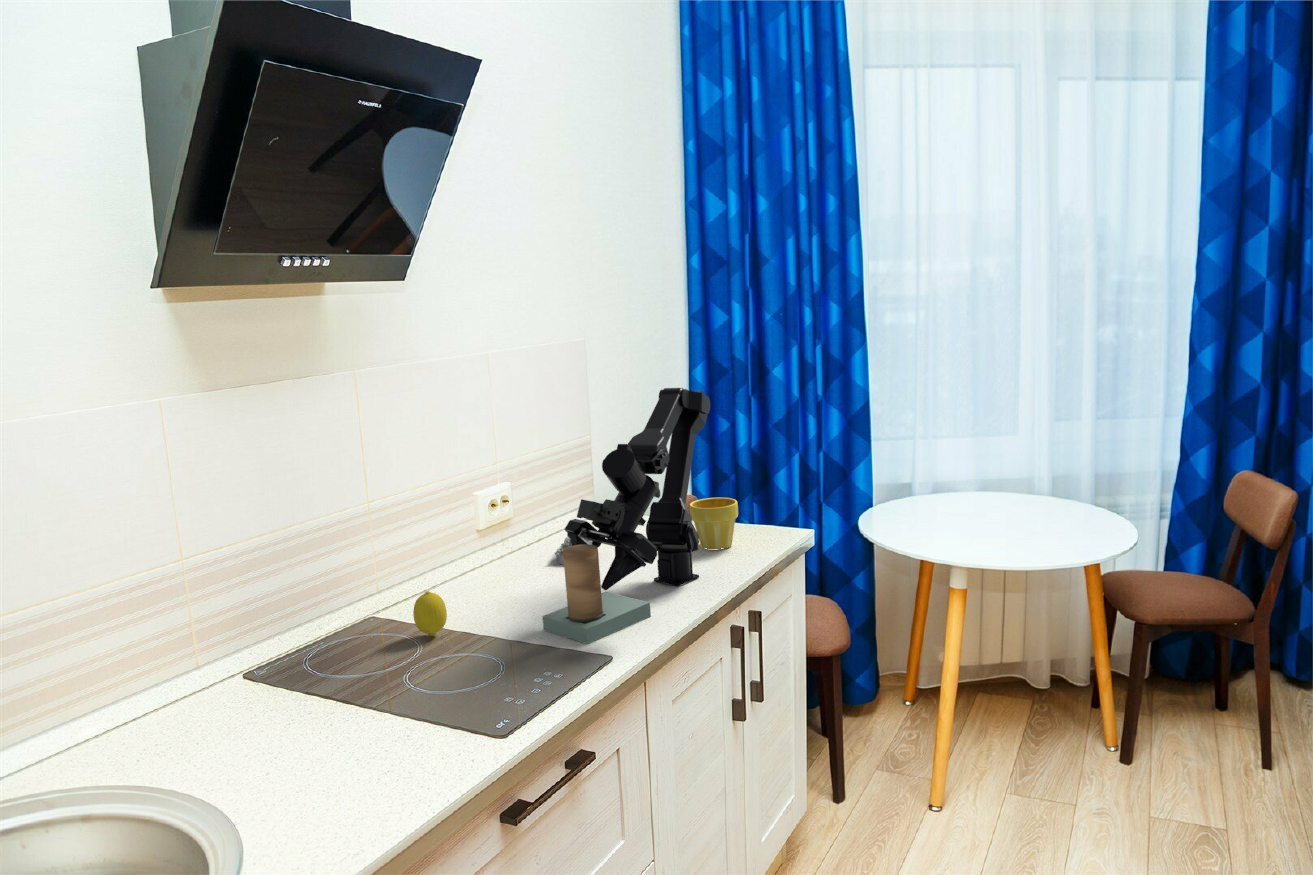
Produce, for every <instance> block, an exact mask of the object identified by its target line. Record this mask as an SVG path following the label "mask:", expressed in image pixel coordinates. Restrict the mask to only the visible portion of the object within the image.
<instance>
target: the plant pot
mask: <svg viewBox="0 0 1313 875" xmlns="http://www.w3.org/2000/svg"><path fill="white" fill-rule="evenodd" d="M689 512H690V514H691V516H692V522H693V524H694V528H695V529H696V531H697V533H698V535H699V544H700V547H701V549H703V548H707V549H721V548H727V549H729V548H728V547H730V546H731V545H733V538H734V537H733V536H734V532H735V524H736V519H737V518H738V516H739V504H738V501H737V500H736V499H734V498H730V497H709V498H707V497H706V498H702V499H697V500H693V501H692V502H690V503H689ZM731 547H732V546H731ZM731 547H730V548H731Z"/></svg>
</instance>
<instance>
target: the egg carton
mask: <svg viewBox="0 0 1313 875" xmlns="http://www.w3.org/2000/svg"><path fill="white" fill-rule="evenodd" d="M570 546H572V544H571V540H570V538H569V537H568V536H567V535H566V537H565V538H564V541H563V542H562V543H561V544H560V546H559V547H558V548H557V549H556V551H555V552H554V554H553V555H555V556H556V559H557V560H556V561H557V562H559V563H558V564H560V565H564V558H563V550H564V549H565V548H567V547H570Z"/></svg>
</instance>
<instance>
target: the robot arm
mask: <svg viewBox="0 0 1313 875" xmlns="http://www.w3.org/2000/svg"><path fill="white" fill-rule="evenodd" d="M710 411H711V400H710V397H709V396H707V395H706V394H705V392H704V391H702V390H689V389H687V388H684V387H665V388H663V389H660V390H659V393H658V400H657V403H656V404H655V407H654V409H653V410H652V412H651V415H650V416H649V419H648V420H647V423H646V424H645V426H644V428H643V430H642V431H641V432H639V433H638V434H635V435H633V436H632V437H631V438H630V440H629V442H628V443H617V446H616V449H614V450H612V451H611V452H609V453H608V454H607V455H606V456H605V457H604V459H603V460H602V463H601V469H602V472H603V473H604V475H605V476H606V478H607V479H608V481H610V483H611V484H612V486H613V487H614V489H615V491H617V492H618V493H617V494H616V497H615V498H614V500H613V499H605V500H604V501H603V503H602V502H596V501H591V500H587V499H584V498H583V499H580V502H579V506H578V510H577V513H576V518H573V519H570V520H569V521H568V522H567V525H566V526H565V528H564V531H565V532H566V533H567V535H566V537H567V536H568V537H569V538H570V540H571V544H572V546H574V545H582V544H589V545H595V546H597V547H598V548H600V547H601V545H602V544H603V545H608V546H611V547H614V558H613V560H612V563H611V564H610V566H609V568H608V570H607V572H606V574H605V576H604V578H603V581H602V583H601V589H603V590H605V591H607V590H609V589H610V588H612V587H613V586H614V585H616V584H617V583H618V582H620V581H621V580H623V579H624V578H625V577H627V576H629V575H630V574H631V573H633V572H635V571H637V570H639V569H640V568H642V567H643V568H644V567H645V568H646V566H647V564H649V565H653V564H654V561H655V560H656V558H658V559H657V561H656V562H657V573H658V575H657V576H656V577H653V582H657V583H662V584H665V585H670V586H674V587H680V586H683V585H685V584H687V583H689V582H692V581H694V580H696V579H699V578H700V575H699V574H696V573H694V572H693V571H694V570H693V557H692V553H693V552H697V551H699V550H700V549H699V548H700V547H699V544H700V540H699V535H698V533H697V530H696V527H695V525H694V523H693V521H692V516H691V514H690V509H689V508H688V506H687V497H688V491H689V485H690V476H691V469H692V463H693V455H694V451H695V450H694V449H695V443H696V436H697V435H698V434H699V433H700V432H701V430H703V428H704V427H705V425H706V424H707V418H708V414H709V413H710ZM669 441H670V442H669ZM668 443H669V449H668V447H667V445H668ZM664 472H665V476H664V482H663V489H662V495H661V490H660V487H659V485H660V483H659V482H658V481H656V480H653V478H652V477H651V476H650V475H662V474H664ZM660 497H661V498H660ZM654 498H657V499H659V498H660V499H659V500H658V501H653V499H654ZM652 501H653V502H652ZM649 506H650V509H649V517H648V520H646V519H645V518H643V517H644V516H645V513H646V512H647V510H648V508H649ZM578 518H579V519H578ZM582 519H586V520H582ZM587 520H589V521H591V523H590V522H588V521H587ZM645 524H646V525H645ZM638 526H642V527H644V526H645V535H646V536H645V535H643V533H640V532H636V530H637V528H638ZM595 527H596V528H595Z"/></svg>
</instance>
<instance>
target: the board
mask: <svg viewBox="0 0 1313 875" xmlns="http://www.w3.org/2000/svg"><path fill="white" fill-rule="evenodd" d="M601 595H602V608H603V617H602V618H601V619H599V620H596V621H593V622H589V623H586V624H583V623H577V622H572V621H570V620H569V619H568V606H566V607H563V608H560V609H558V610H555V611H553V612H550V613H547V614H545V615H542V617H541V618H542V625H543V631H544V632H547V633H551V634H555V635H558V636H560V637H564V638H568V639H571V640H574V641H577V642H581V643H584V644H587V645H588V644H591V643H593V642H595V641H598V640H600V639H602V638H604V637H606V636H609V635H612V634H614V633H616V632H618V631H621V630H623V629H625V628H627V627H630V626H633V625H634V624H636V623H638V622H640V621H643V620H645V619H647V618H650V617H652V614H651V612H652V611H651V602H649V601H646V600H641V599H638V598H633V597H629V596H625V595H622V594H617V593H613V592H610V591H603V592H601Z"/></svg>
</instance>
